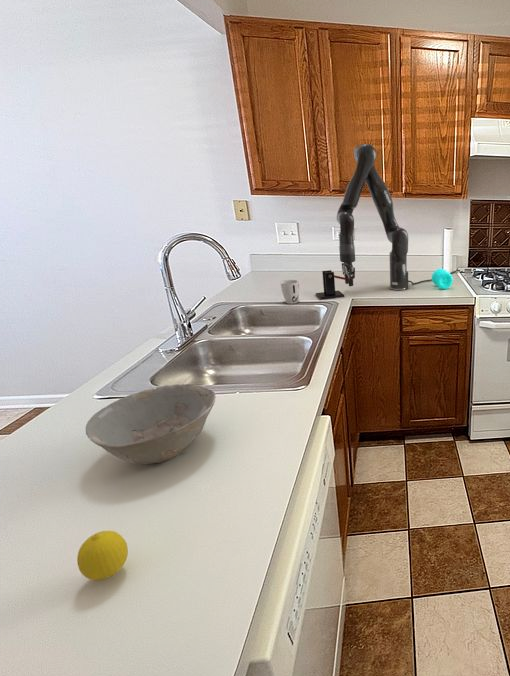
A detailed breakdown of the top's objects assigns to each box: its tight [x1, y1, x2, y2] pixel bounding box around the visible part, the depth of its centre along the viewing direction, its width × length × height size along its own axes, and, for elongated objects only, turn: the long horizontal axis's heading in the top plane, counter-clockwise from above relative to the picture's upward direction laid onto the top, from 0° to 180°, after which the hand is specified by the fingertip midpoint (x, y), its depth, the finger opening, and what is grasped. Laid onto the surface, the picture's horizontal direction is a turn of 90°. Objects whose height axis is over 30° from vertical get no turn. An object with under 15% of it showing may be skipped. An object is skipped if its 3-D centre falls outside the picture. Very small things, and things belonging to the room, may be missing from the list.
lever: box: [325, 272, 349, 281], centre depth 201 cm, size 13×5×2 cm, turn 122°
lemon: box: [76, 530, 129, 581], centre depth 59 cm, size 6×6×8 cm
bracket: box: [315, 269, 345, 301], centre depth 199 cm, size 12×9×13 cm
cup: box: [280, 279, 300, 305], centre depth 189 cm, size 8×8×10 cm
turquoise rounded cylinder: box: [431, 268, 454, 290], centre depth 223 cm, size 10×10×10 cm
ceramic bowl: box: [85, 383, 216, 465], centre depth 86 cm, size 22×23×10 cm
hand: (349, 284), depth 205 cm, fingers closed on lever, 5 cm apart
